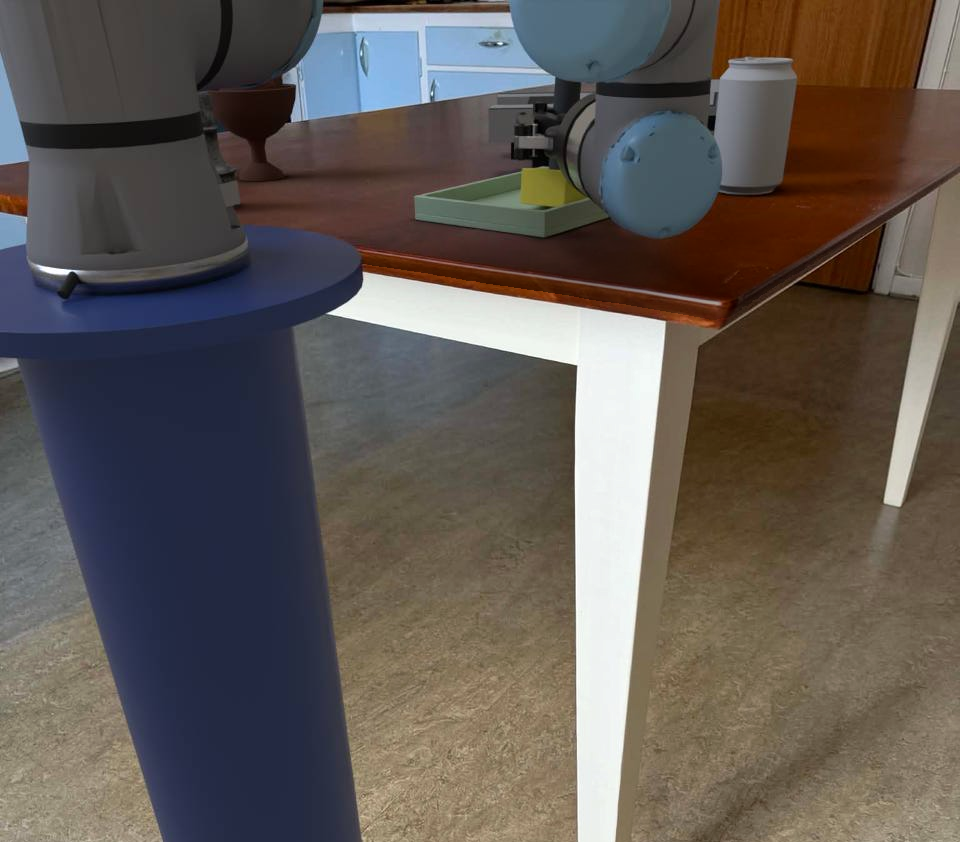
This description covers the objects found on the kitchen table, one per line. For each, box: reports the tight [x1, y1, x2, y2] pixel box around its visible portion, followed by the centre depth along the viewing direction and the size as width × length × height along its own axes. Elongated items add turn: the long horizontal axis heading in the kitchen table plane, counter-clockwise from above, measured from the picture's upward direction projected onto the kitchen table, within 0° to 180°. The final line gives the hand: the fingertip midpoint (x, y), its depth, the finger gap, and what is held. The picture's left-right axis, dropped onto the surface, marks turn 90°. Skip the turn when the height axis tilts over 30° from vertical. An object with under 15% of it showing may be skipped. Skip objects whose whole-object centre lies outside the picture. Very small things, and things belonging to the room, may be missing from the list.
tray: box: [413, 167, 610, 239], centre depth 93 cm, size 21×15×2 cm
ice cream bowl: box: [209, 74, 297, 182], centre depth 110 cm, size 11×11×15 cm
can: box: [714, 56, 798, 196], centre depth 96 cm, size 8×8×12 cm
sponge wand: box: [520, 76, 588, 207], centre depth 87 cm, size 6×5×14 cm
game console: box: [487, 78, 720, 168], centre depth 115 cm, size 21×32×8 cm, turn 85°
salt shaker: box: [197, 91, 241, 210], centre depth 95 cm, size 6×6×12 cm
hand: (552, 117), depth 92 cm, fingers closed on sponge wand, 3 cm apart
